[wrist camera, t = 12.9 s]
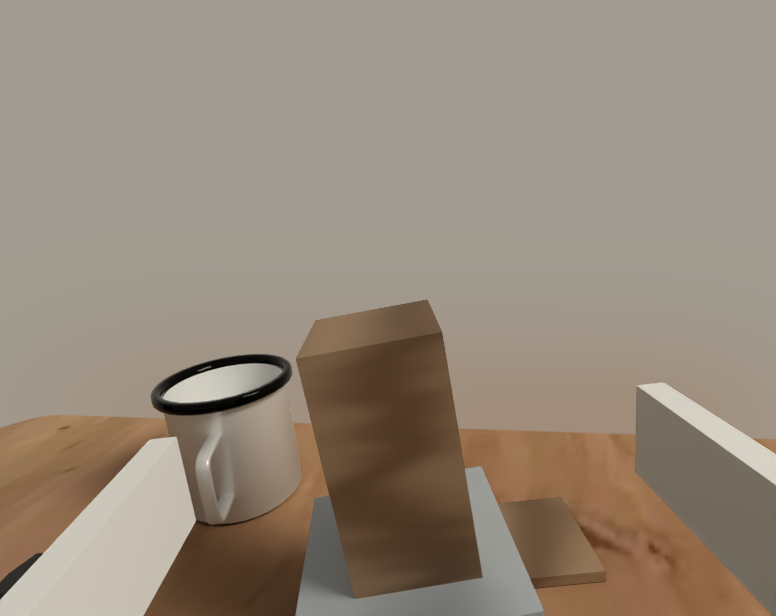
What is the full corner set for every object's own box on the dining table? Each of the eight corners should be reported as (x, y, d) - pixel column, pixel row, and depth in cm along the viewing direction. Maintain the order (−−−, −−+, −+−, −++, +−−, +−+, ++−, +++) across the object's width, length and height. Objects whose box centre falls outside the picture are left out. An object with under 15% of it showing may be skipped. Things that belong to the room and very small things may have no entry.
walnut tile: (488, 592, 24) (487, 583, 24) (467, 515, 30) (466, 506, 30) (605, 580, 24) (605, 570, 24) (561, 505, 30) (561, 497, 30)
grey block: (319, 767, 17) (288, 661, 16) (334, 575, 26) (314, 498, 25) (558, 719, 17) (544, 611, 16) (493, 544, 26) (481, 466, 25)
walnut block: (355, 599, 18) (296, 358, 16) (360, 513, 23) (315, 320, 21) (482, 577, 18) (441, 331, 16) (461, 496, 23) (427, 299, 21)
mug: (200, 463, 39) (178, 362, 37) (313, 447, 40) (297, 347, 38) (140, 574, 28) (102, 436, 26) (300, 549, 28) (276, 412, 26)
